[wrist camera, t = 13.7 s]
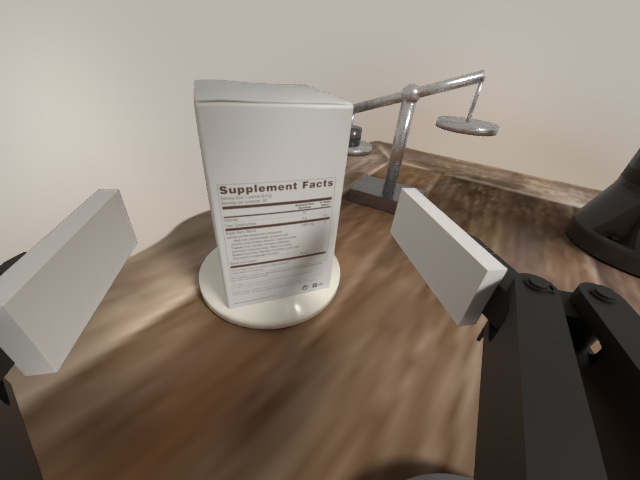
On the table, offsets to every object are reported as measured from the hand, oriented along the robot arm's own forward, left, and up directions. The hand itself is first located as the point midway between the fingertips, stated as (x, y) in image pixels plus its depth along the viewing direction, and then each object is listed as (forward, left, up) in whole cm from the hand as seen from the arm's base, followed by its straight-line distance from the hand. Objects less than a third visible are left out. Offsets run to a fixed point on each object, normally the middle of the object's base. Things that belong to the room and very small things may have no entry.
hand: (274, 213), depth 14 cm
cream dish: (+5, -7, -12) cm, 14 cm away
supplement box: (+5, -6, -10) cm, 14 cm away
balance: (+1, -31, -12) cm, 33 cm away
